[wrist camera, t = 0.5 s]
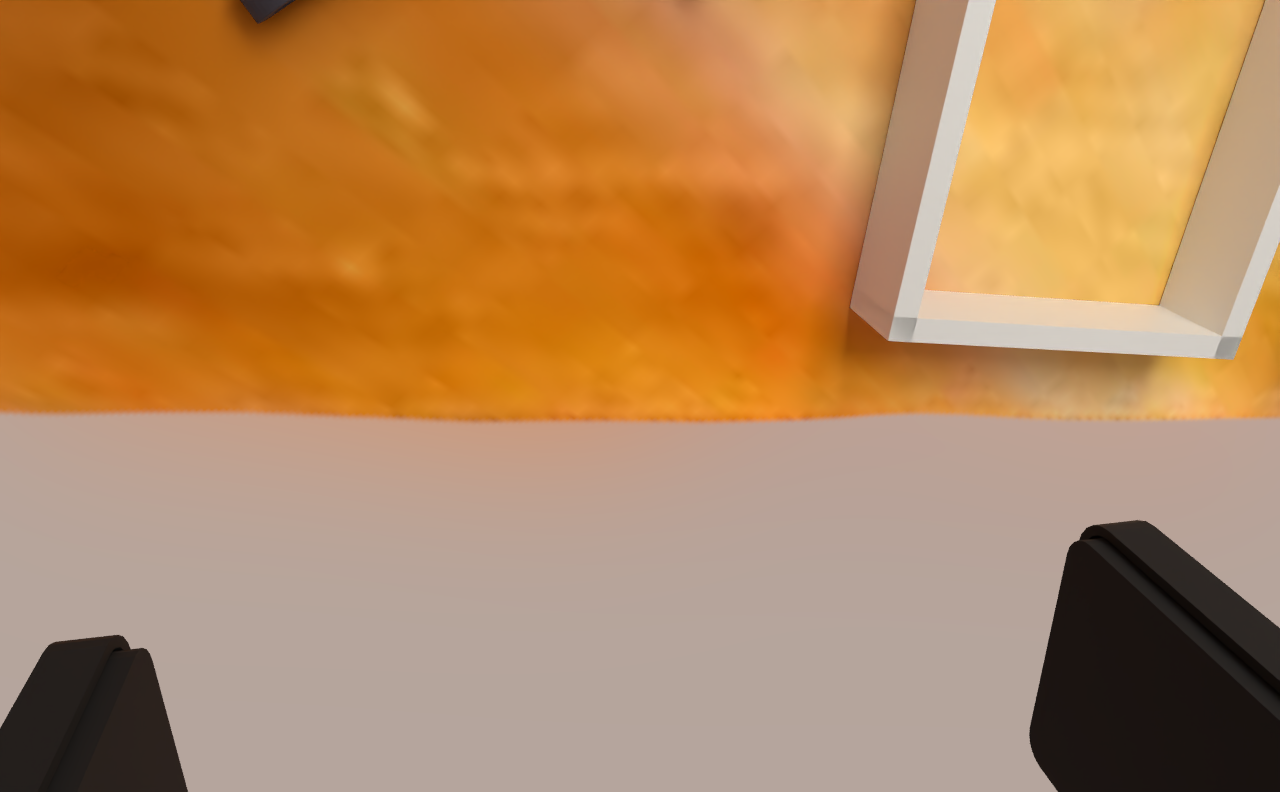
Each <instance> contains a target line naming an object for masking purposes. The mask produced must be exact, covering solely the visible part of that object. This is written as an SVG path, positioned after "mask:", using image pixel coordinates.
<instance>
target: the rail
mask: <svg viewBox="0 0 1280 792" xmlns="http://www.w3.org/2000/svg"><path fill="white" fill-rule="evenodd" d="M995 2H996V0H916V4H915V9H914V14H913V18H912V23H911V27H910V32H909V37H908V41H907V46H906V50H905V55H904V60H903V64H902V69H901V73H900V78H899V83H898V87H897V92H896V96H895V101H894V106H893V110H892V115H891V119H890V124H889V129H888V133H887V138H886V142H885V147H884V152H883V156H882V161H881V165H880V170H879V175H878V179H877V184H876V188H875V193H874V198H873V202H872V207H871V211H870V216H869V221H868V225H867V230H866V234H865V239H864V244H863V248H862V253H861V257H860V262H859V267H858V271H857V276H856V281H855V285H854V290H853V294H852V299H851V304H850V308H851V309H852V310H853V311H854V312H855V313H857V314H858V315H859V316H860V317H861V318H862V319H863V320H865V321H866V322H867V323H868V324H869V325H870V326H871V327H873V328H874V329H875V330H876V331H877V332H878V333H879V334H881V335H882V336H883V337H884V338H885V339H886V340H887V341H898V342H916V343H935V344H954V345H972V346H991V347H1010V348H1028V349H1047V350H1066V351H1084V352H1103V353H1122V354H1140V355H1159V356H1178V357H1196V358H1215V359H1234V357H1235V354H1236V352H1237V349H1238V347H1239V344H1240V341H1241V339H1242V336H1243V334H1244V331H1245V329H1246V326H1247V323H1248V321H1249V318H1250V316H1251V313H1252V311H1253V308H1254V305H1255V303H1256V300H1257V298H1258V295H1259V293H1260V290H1261V287H1262V285H1263V282H1264V280H1265V277H1266V275H1267V272H1268V269H1269V267H1270V264H1271V262H1272V259H1273V257H1274V254H1275V251H1276V249H1277V246H1278V244H1279V241H1280V0H1265V3H1264V6H1263V9H1262V12H1261V15H1260V18H1259V21H1258V23H1257V26H1256V29H1255V32H1254V35H1253V38H1252V41H1251V43H1250V46H1249V49H1248V52H1247V55H1246V58H1245V61H1244V64H1243V66H1242V69H1241V72H1240V75H1239V78H1238V81H1237V84H1236V86H1235V89H1234V92H1233V95H1232V98H1231V101H1230V104H1229V107H1228V109H1227V112H1226V115H1225V118H1224V121H1223V124H1222V127H1221V130H1220V132H1219V135H1218V138H1217V141H1216V144H1215V147H1214V150H1213V152H1212V155H1211V158H1210V161H1209V164H1208V167H1207V170H1206V173H1205V175H1204V178H1203V181H1202V184H1201V187H1200V190H1199V193H1198V195H1197V198H1196V201H1195V204H1194V207H1193V210H1192V213H1191V216H1190V218H1189V221H1188V224H1187V227H1186V230H1185V233H1184V236H1183V238H1182V241H1181V244H1180V247H1179V250H1178V253H1177V256H1176V259H1175V261H1174V264H1173V267H1172V270H1171V273H1170V276H1169V279H1168V282H1167V284H1166V287H1165V290H1164V293H1163V296H1162V299H1161V302H1160V304H1159V305H1146V304H1131V303H1116V302H1101V301H1086V300H1071V299H1056V298H1041V297H1026V296H1011V295H996V294H981V293H966V292H951V291H936V290H924V289H925V285H926V281H927V277H928V273H929V269H930V265H931V261H932V257H933V253H934V249H935V245H936V241H937V237H938V233H939V229H940V225H941V221H942V217H943V212H944V208H945V204H946V200H947V196H948V192H949V188H950V184H951V180H952V176H953V172H954V168H955V164H956V160H957V156H958V152H959V148H960V144H961V140H962V136H963V132H964V128H965V123H966V119H967V115H968V111H969V107H970V103H971V99H972V95H973V91H974V87H975V83H976V79H977V75H978V71H979V67H980V63H981V59H982V55H983V51H984V47H985V43H986V39H987V35H988V30H989V26H990V22H991V18H992V14H993V10H994V6H995Z"/></svg>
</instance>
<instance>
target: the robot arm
mask: <svg viewBox="0 0 1280 792" xmlns="http://www.w3.org/2000/svg"><path fill="white" fill-rule="evenodd" d="M1029 736H1030V744H1031V748H1032V752H1033V754H1034V757H1035V759H1036V761H1037V762H1038V764H1039V766H1040V768H1041V769H1042V770H1043V772H1044V773H1045V774H1046V776H1047V777H1048V779H1049V780H1050V781H1051V783H1052V784H1053V785H1054V787H1055V788H1056V790H1057V791H1058V792H1280V628H1279V627H1278V626H1276V625H1275V624H1274V623H1273V622H1271V621H1270V620H1269V619H1268V618H1266V617H1265V616H1264V615H1263V614H1261V613H1260V612H1259V611H1258V610H1257V609H1255V608H1254V607H1253V606H1252V605H1250V604H1249V603H1248V602H1247V601H1245V600H1244V599H1243V598H1242V597H1241V596H1239V595H1238V594H1237V593H1236V592H1234V591H1233V590H1232V589H1231V588H1230V587H1228V586H1227V585H1226V584H1225V583H1223V582H1222V581H1221V580H1220V579H1218V578H1217V577H1216V576H1215V575H1214V574H1212V573H1211V572H1210V571H1209V570H1207V569H1206V568H1205V567H1204V566H1203V565H1201V564H1200V563H1199V562H1198V561H1196V560H1195V559H1194V558H1193V557H1191V556H1190V555H1189V554H1188V553H1186V552H1185V551H1184V550H1183V549H1181V548H1180V547H1179V546H1178V545H1177V544H1175V543H1174V542H1173V541H1172V540H1171V539H1169V538H1168V537H1167V536H1165V535H1164V534H1163V533H1162V532H1161V531H1159V530H1158V529H1157V528H1156V527H1155V526H1153V525H1151V524H1150V523H1148V522H1146V521H1138V520H1136V521H1127V522H1118V523H1109V524H1100V525H1093V526H1090V527H1088V528H1086V530H1085V531H1084V532H1083V533H1082V534H1081V537H1080V540H1079V541H1077V542H1074V543H1073V544H1072V545H1071V546H1070V547H1069V550H1068V553H1067V557H1066V562H1065V566H1064V571H1063V576H1062V580H1061V585H1060V590H1059V594H1058V599H1057V604H1056V608H1055V613H1054V618H1053V622H1052V627H1051V632H1050V636H1049V641H1048V646H1047V651H1046V655H1045V660H1044V664H1043V669H1042V674H1041V678H1040V684H1039V688H1038V692H1037V697H1036V702H1035V706H1034V711H1033V716H1032V720H1031V725H1030V735H1029ZM0 792H188V790H187V787H186V783H185V779H184V776H183V772H182V769H181V764H180V761H179V757H178V753H177V750H176V746H175V743H174V739H173V735H172V731H171V727H170V724H169V720H168V717H167V713H166V709H165V706H164V702H163V698H162V695H161V691H160V687H159V683H158V680H157V676H156V672H155V668H154V665H153V661H152V658H151V656H150V653H149V652H148V651H147V649H144V648H139V649H130V647H129V644H128V642H127V641H126V639H125V638H124V637H123V636H120V635H113V636H104V637H95V638H86V639H78V640H68V641H59V642H54V643H52V644H50V645H49V646H48V647H47V648H46V649H45V651H44V652H43V654H42V655H41V657H40V659H39V661H38V662H37V664H36V666H35V668H34V670H33V671H32V673H31V675H30V677H29V678H28V680H27V682H26V684H25V686H24V687H23V689H22V691H21V693H20V694H19V696H18V698H17V700H16V702H15V703H14V705H13V707H12V708H11V710H10V712H9V714H8V716H7V717H6V719H5V721H4V723H3V724H2V726H1V728H0Z"/></svg>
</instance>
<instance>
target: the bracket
mask: <svg viewBox="0 0 1280 792" xmlns="http://www.w3.org/2000/svg"><path fill="white" fill-rule="evenodd" d="M293 1H295V0H241V2H242V3H243V5H244V6H245V7H246V9H247V10H248V11H249V13H250V14H251V15H252V17H253V18H254V19H255V21H256V22H257V23H258V24H259V23H261V22H263V21H265V20H267V19H268V18H270V17H271V16H273V15H274V14H276V13H277V12H279V11H280V10H282V9H283V8H284V7H286V6H287V5H289V4H290V3H292V2H293Z"/></svg>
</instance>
